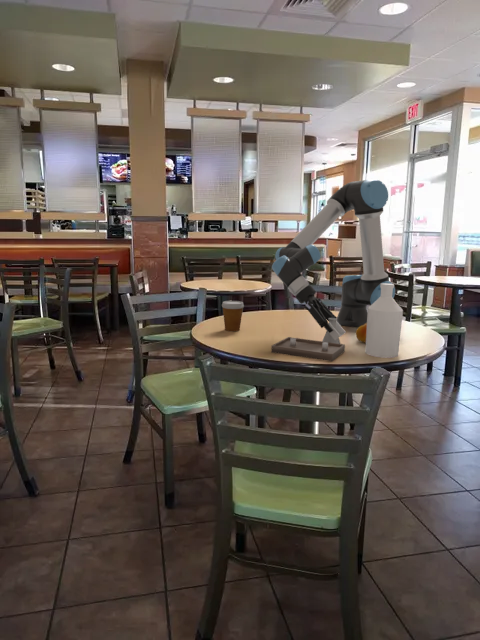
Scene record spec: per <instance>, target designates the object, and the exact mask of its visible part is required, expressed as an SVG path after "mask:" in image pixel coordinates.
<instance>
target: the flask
mask: <svg viewBox="0 0 480 640" xmlns="http://www.w3.org/2000/svg"><path fill="white" fill-rule="evenodd" d="M328 320H329V321H328ZM328 320H327V321H328V323H329V322H330V323H331V325H332V326H333V327H334V328H335V329H336V320H337V318H328ZM336 331H337V330H336ZM321 341H323V342H330V343H338V344H341V341H340V337H339V338H338V339H336V340H334V339H333V337H332V336H331V335H330V334H329V333H328V331H327V330H326V331H325V334H324V335H323V339H322V340H321Z"/></svg>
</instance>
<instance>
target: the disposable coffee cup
mask: <svg viewBox="0 0 480 640" xmlns="http://www.w3.org/2000/svg"><path fill="white" fill-rule="evenodd" d="M221 307H222V312H223V313H222V314H223V322H224V324H223V325H224V331H226V332H239V331H241V325H242V323H241V322H242V317H243V316H242V315H243V310H244V307H245V305H244V302H243V301H239V300H225V301H222V304H221Z"/></svg>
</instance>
